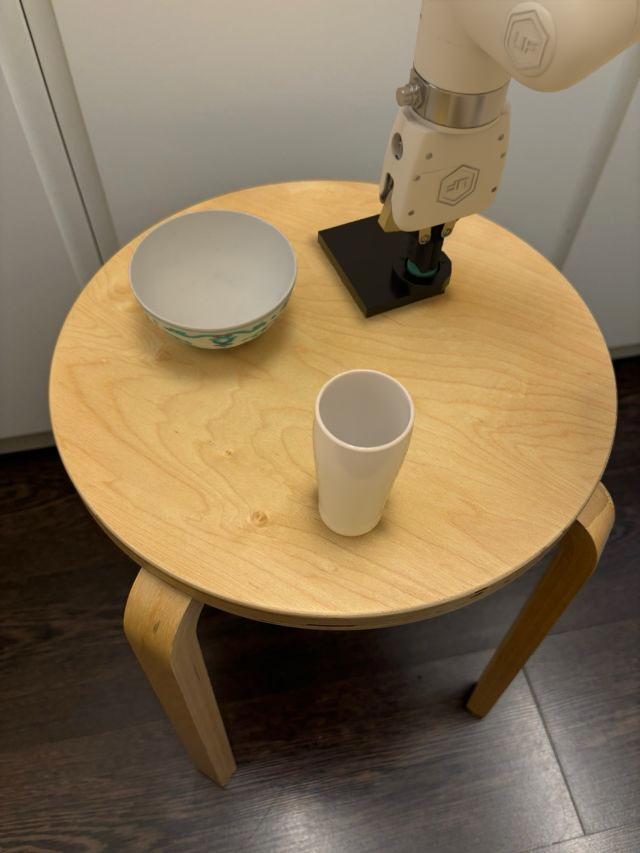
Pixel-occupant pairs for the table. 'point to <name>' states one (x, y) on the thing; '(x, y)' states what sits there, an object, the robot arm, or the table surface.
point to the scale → (379, 266)
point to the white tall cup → (359, 446)
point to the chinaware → (213, 276)
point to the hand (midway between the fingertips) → (421, 262)
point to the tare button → (416, 272)
